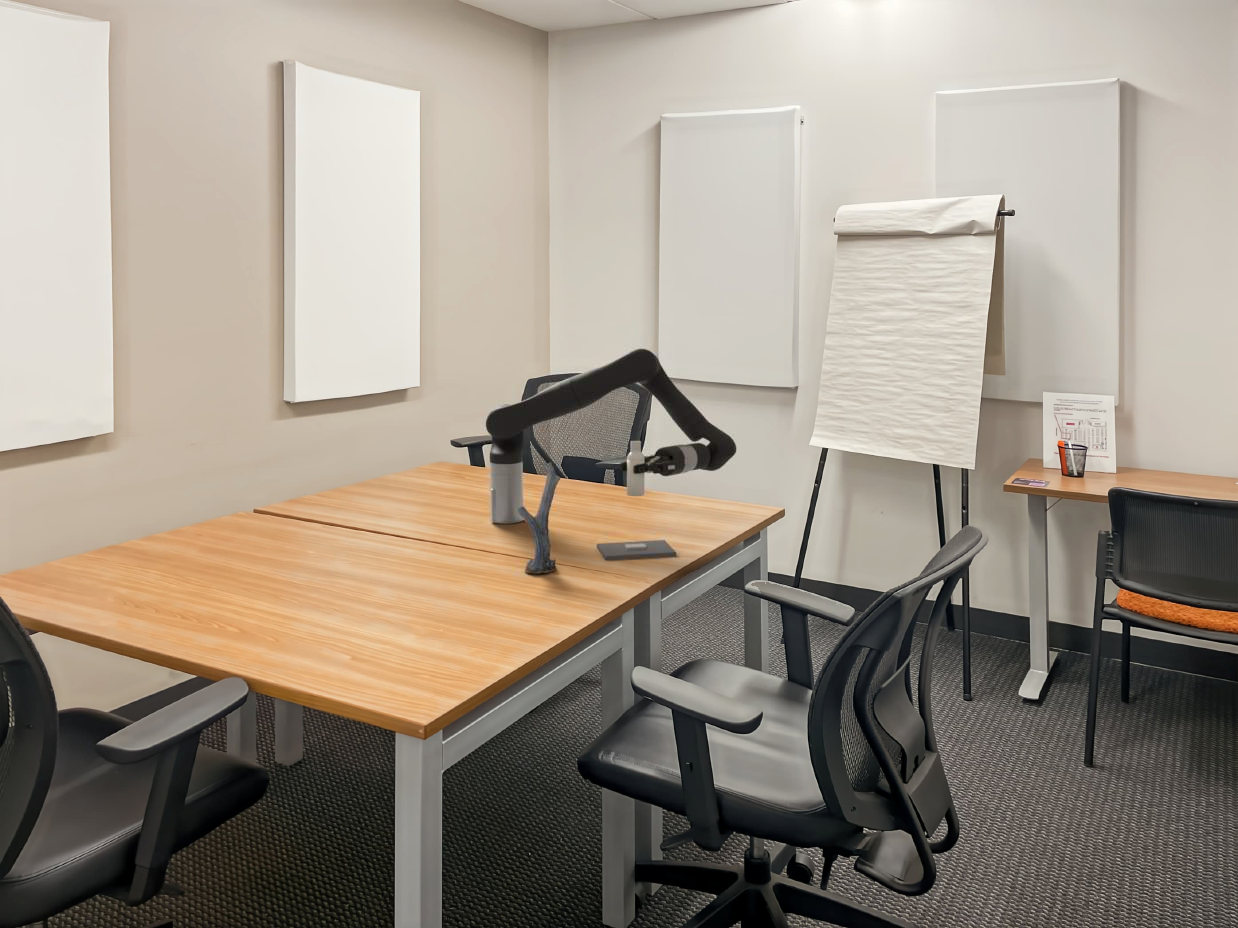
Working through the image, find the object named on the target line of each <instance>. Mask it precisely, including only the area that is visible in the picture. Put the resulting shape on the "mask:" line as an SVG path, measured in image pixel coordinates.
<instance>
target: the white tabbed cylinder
mask: <svg viewBox="0 0 1238 928" xmlns="http://www.w3.org/2000/svg"><path fill="white" fill-rule="evenodd" d="M641 446H642V442H641V440H630V452H629V453H628V454H627V457H626V461H627V471H626V495H627V496H629V497H642V496H645V494H646V493H645V487H646V486H645V481H646V480H645V478H646V477H645V473H646V472H645V473H640V474H634V473H633V466H634V465H637V464H643V463H645V458H644V456H645V455H644V453H643V452H642V447H641Z"/></svg>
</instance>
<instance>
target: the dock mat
mask: <svg viewBox="0 0 1238 928" xmlns="http://www.w3.org/2000/svg"><path fill="white" fill-rule="evenodd" d="M596 549H597V550H598V551H599V553H600V554H601V557H602V558H603V559H604V560H605V561H612V560H627V559H628V560H631V559H644V558H646V559H649V558H650V559H651V558H663V557H664V558H665V557H676V556H677V552H676V550H675V549H674V548H673V547H672V546H671V545H670V544H669V543H668V542H667V541H666V540H665V539H657V540H656V539H655V540H639V541H638V540H637V541H621V542H605V543H604V542H603V543H602V542H601V543H596Z"/></svg>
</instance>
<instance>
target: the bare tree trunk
mask: <svg viewBox="0 0 1238 928" xmlns="http://www.w3.org/2000/svg"><path fill="white" fill-rule="evenodd" d="M546 467H547V468H546V479H545V482H544V483H545V484H544V489H543V491H542V495H541V498H540V501H539V507H538V509H537V512H536V514H535V516H533V515H532V514H531V513H530V512H529V511H528V510H527V509H526V507H524V505H523V506H521V507H520V508H518V512H519V514H520V515H521V516H522V517H523V520H525V521H526V522H527V526H528V528H529V530H530V532H531V534H532V537H533V541H534V558H533V559H530V560H529V561H528V562H527V563H526V566H525V569H524V571H525V572H526V573H529V574H541V573H544V574H545V573H551V572H552V571H553V572H554V571H555V570H556V569H557V567H556V558H553V559H550V558H551V547H552V546H551V543H550V538H549V531H550V530H549V515H550V510H551V507H552V502H553V499H554V495H555V492H556V491H555V490H556V488H557V485H558V483H559V482H560V480H561V476H559V475H557V473H556V470H555V467H554V465H553V463H552V462H548V463H547V466H546Z"/></svg>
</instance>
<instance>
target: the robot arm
mask: <svg viewBox="0 0 1238 928" xmlns="http://www.w3.org/2000/svg"><path fill="white" fill-rule="evenodd" d="M634 384H639V385H641V386H642V387H643V389H646V390H647V391H648V392H649V393H650V394H651V395H652V396H653V397H655V399H656V400H657V401H658V402H659V403H660V405H662V407H663V408H664V410H666V413H668V415H669V417H670V418H671V419H672V421H673V422H674V424H676V426H678V428H679V429H680V430H681V431H682V432H683V433H684V435H685V436H686V437H687V438H688V439H689V440H690V441H691V442H693V443H686V444H676V445H675V444H674V445H669V446H668V445H667V446H662V447H660V448H658V449H657V450H656V451H655V452H654V454H648V455H644V458H645V463H643V464H637V465H634V466H633V473H634V474H640V473H646V474H654V475H656V474H659V475H661V476H662V477H670V476H671V477H672V476H675V475H680V474H685V473H689V472H691V471H697V470H703V471H708V472H713V471H718V470H720V469H721V468H722V467H723V466H725V465H726V464H727V462H728V461H730V459H732V458H733V457H734V456H735V455H736V453H737V445H736V443H735V440H734V439H733V438H732V437H731V436H730V435H729V434H728V433H726V432H724V431H723V430H721V429H720V428H719V427H717V426H715V425H714V424H713V423H711V422H710V421H709V420H708V419H707V418H706V416H704V415H703V413H702V412H700V410H699V409H698V408H697V407H696V406H695V405H694V403H692V401H691V400H690V399H688V398H687V396H685V395H684V394H683V393H682V392H681V391H680V390H679V389H678V387H677V386H676V385H675V384H674V382H673V381H672V380H671V378H670V377H669V376H668V374H667V372H666V370H665V369H664V368H663V365H661V362H660V359H659V358H658V356H657V355H655V354H654V353H653V352H652V351H651V350H649V349H648V348H647V349H646V348H637V349H634V350H631V351H629V352H628V353H627V354H625V355H622V356H621V357H619V358H617V359H615V360H613V361H611V362H609V363H607V364H605V365H602V366H600V367H596V368H592V369H589V370H587V371H584V372H581V373H579V374H576V375H573V376H571V377H568V378H565V379H564V380H563V379H562V380H561V381H559V382H557V383H554V384H552V385H550V386H548V387H547V388H545V389H543V390H542V391H539V392H538V393H536V394H534V395H533V396H530V397H529V398H526V399H524V400H521V401H519V402H516V403H515V402H514V403H512V404H507V403H506V404H502V405H499V406H497V407H495V408H493V410H491V411H490V412H489V413H488V415H487V418H486V421H485V428H486V431H487V433H488V434H489V435H490V436H491V446H490V452H489V478H490V479H489V480H490V481H489V482H490V486H489V504H490V507H489V508H490V521H491V523H492V524H506V525H507V524H516V523H521V522H523V521H524V518H523V517H522V516H521V515H520V514H519V512H518V508H520V507H521V506H523V507H524V480H523V476H524V473H523V471H524V469H523V453H524V441H525V440H524V437H525V436H524V434H525V433H524V431H525V430H527V429H528V428H530V427H532V426H534V425H536V424H539V423H543V422H547V421H550V420H554V419H557V418H560V417H563V416H567V415H569V414H572V413H575V412H578V411H580V410H581V409H585V408H587V407H588V406H590V405H593V404H595V403H596V402H598V401H600V400H601V399H602V398H604V397H605V396H607V395H608V394H609V393H612V392H613V391H616V390H617V389H621V388H624V387H626V386H630V385H634ZM702 439H704V440H706V441H708V442H709V443H708V444H707V445H706V444H705V443H701V442H699V441H701V440H702ZM619 470H620V471H621V472H625V471H626V472H627V460H626V461H622V462H620V463H619Z"/></svg>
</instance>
